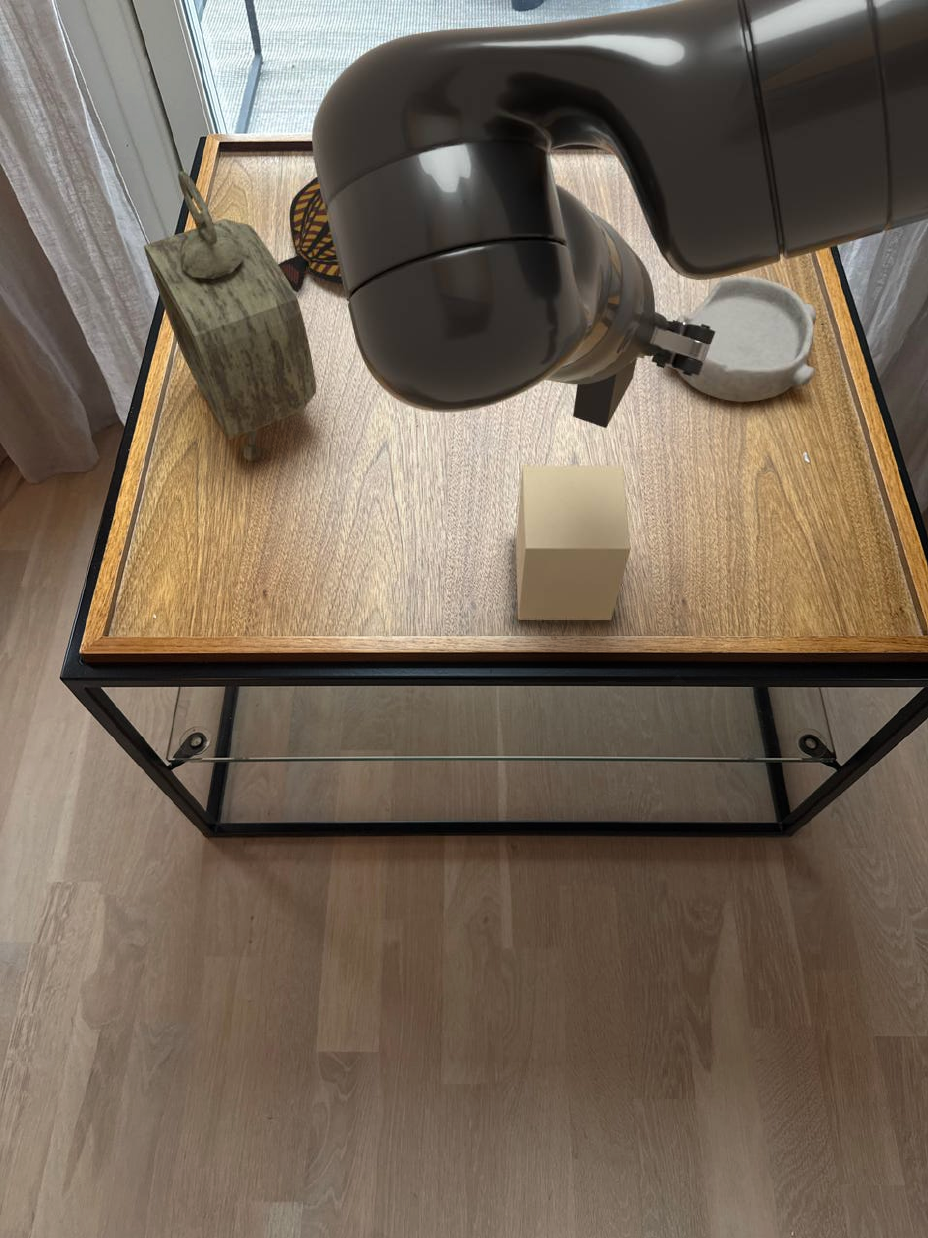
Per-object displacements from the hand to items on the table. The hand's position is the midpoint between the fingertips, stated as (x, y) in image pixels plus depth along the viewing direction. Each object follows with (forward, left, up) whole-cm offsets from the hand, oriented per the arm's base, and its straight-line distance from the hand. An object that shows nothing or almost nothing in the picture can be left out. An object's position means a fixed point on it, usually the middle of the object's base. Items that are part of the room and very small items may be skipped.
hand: (620, 331), depth 59 cm
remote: (+1, +2, -4) cm, 4 cm away
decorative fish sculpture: (+8, -46, -26) cm, 54 cm away
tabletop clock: (+23, -26, -26) cm, 44 cm away
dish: (-25, -17, -26) cm, 40 cm away
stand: (+2, +2, -26) cm, 26 cm away
